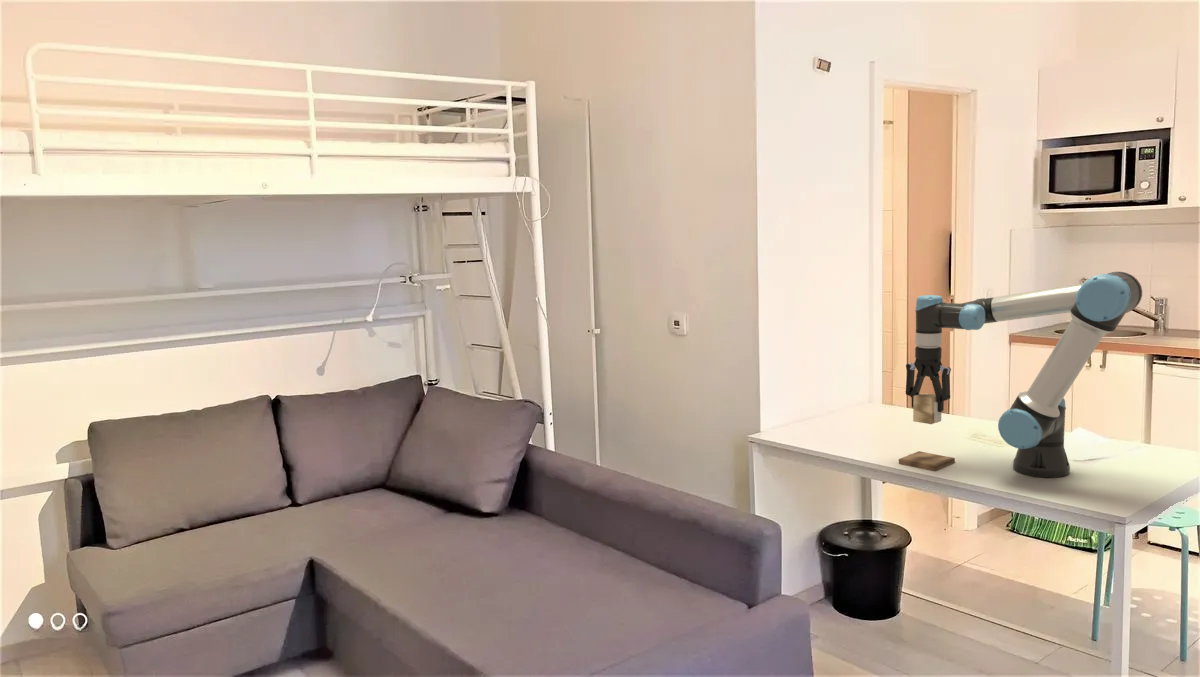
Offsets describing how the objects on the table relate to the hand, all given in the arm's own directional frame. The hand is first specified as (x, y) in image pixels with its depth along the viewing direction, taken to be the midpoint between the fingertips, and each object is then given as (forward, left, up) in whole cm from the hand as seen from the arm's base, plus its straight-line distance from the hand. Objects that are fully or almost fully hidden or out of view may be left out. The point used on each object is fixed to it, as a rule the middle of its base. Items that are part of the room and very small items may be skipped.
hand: (927, 420), depth 272 cm
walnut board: (0, 0, -14) cm, 14 cm away
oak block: (0, 0, 0) cm, 0 cm away
